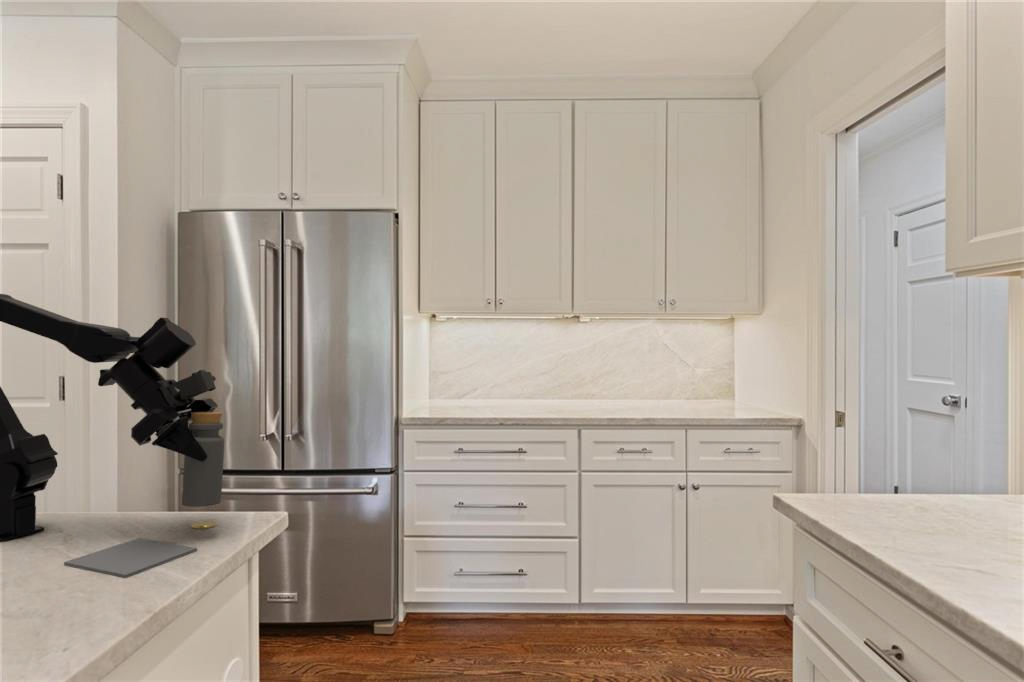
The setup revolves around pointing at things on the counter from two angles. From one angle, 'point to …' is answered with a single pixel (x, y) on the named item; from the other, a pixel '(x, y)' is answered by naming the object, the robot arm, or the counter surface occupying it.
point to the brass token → (203, 524)
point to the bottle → (204, 462)
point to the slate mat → (130, 557)
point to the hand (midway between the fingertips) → (213, 455)
